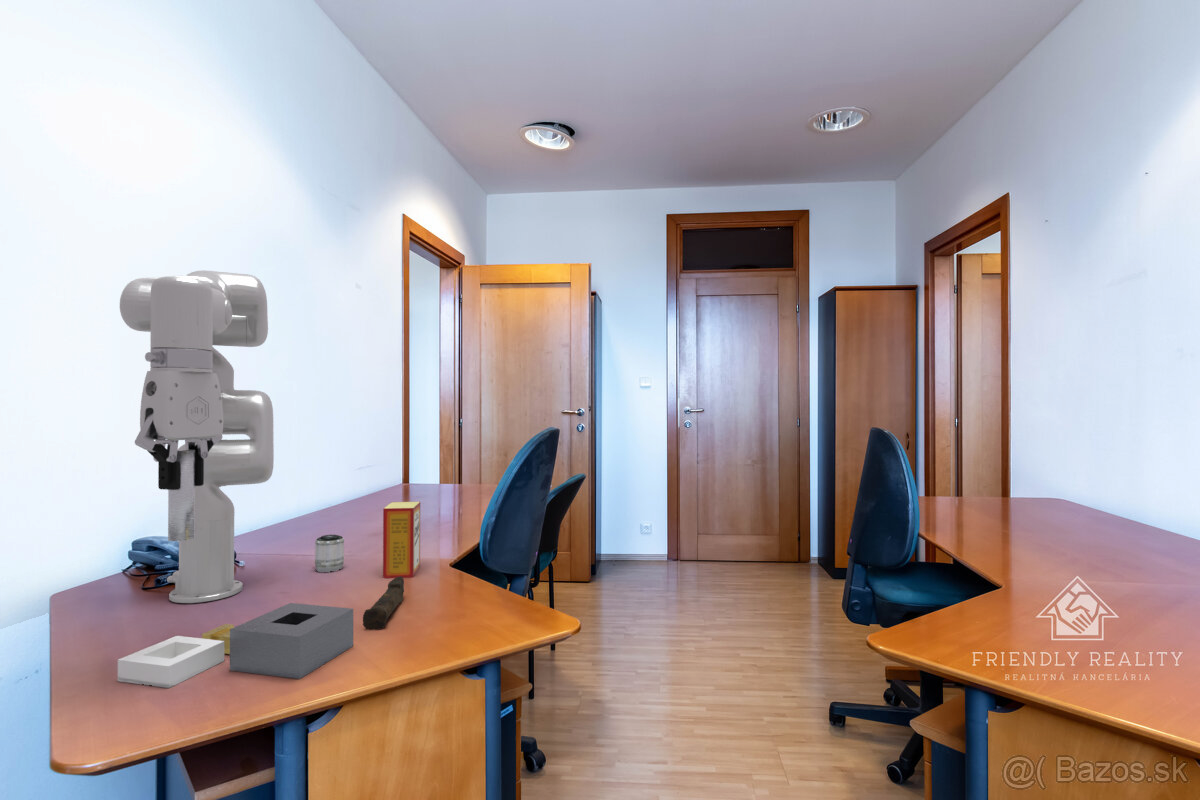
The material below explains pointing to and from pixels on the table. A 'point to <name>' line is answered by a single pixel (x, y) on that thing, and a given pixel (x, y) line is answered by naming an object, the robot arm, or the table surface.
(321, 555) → the camera lens
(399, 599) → the hand tool
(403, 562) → the baking soda box
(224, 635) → the key
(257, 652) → the socket
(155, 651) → the tray
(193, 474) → the grey cylindrical peg
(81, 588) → the table surface
